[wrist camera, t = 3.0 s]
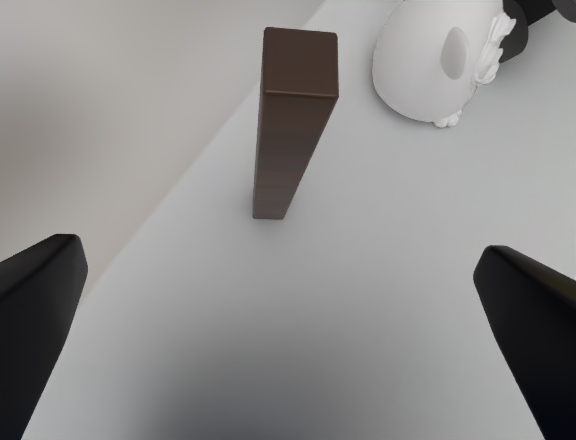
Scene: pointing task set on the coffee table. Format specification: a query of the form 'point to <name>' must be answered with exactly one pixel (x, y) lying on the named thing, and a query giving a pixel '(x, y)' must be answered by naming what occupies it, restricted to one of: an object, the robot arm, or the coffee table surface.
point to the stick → (291, 112)
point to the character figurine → (530, 21)
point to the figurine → (438, 56)
